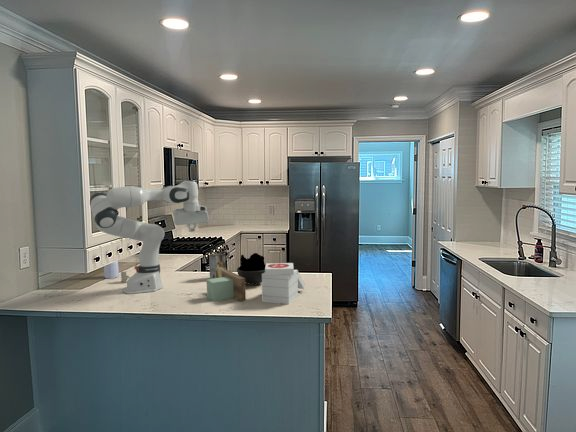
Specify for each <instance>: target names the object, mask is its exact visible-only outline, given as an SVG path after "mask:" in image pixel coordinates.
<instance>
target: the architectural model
mask: <svg viewBox="0 0 576 432" xmlns="http://www.w3.org/2000/svg"><path fill="white" fill-rule="evenodd" d="M127 274H128V273H127V271H123V270H121V271H120V278H121V282H122V283H125V284H127V281H128V279H129V278H130V277H131V276H129V275H127Z"/></svg>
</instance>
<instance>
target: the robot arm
mask: <svg viewBox="0 0 576 432" xmlns="http://www.w3.org/2000/svg"><path fill="white" fill-rule="evenodd" d="M198 198H199V187H198V183H197V182H196V181H194V180H189V179H184V180H183V181H182V182H180V183H179V184H177V185H166V186H164V187H162V188H160V189H157V188H156V189H144V188H142V187H139V186H121V187H115V188H111V189H109V190H108V191H107V192H99V191H98V192H95V193H94V194H92V195H91V197H90V199H89V206H90V211H91V214H92V217H93V218H94V223H95V224H96V228H97V230H98V231H100V232H102V233H105V234H108V235H111V236H115V237H120V238H125V239H130V240H135V241H138V242H139V241H140V242H142V246H141V250H140V251H139V253H138V255H139V257H138V258H139V261H138V262H139V265H138V266H137V265H135V266H134V267H133V268H134V269H135V271H136V272H135V273H134V274H133V275H131V276H129V277H130V278H129V279H127V283H126V286H125V287H123V288H122V292H123V293H124V294H127V295H130V294H131V295H132V294H133V295H134V294H140V293H141V294H142V293H152V292H157V291H158V290H161V289H163V287H164V286H163V283H162V279H161V265H160V247H161V243H162V241H163V240H164V237H165V230H164V228H163V227H162V226H160V225H159V224H157V223H156V224H154V223H147V222H143V221H138V220H135V219H131V218H128V217H125V216H119V213H120V212H119V209H120V208H132V207H133V208H134V207H139V206H143V205H144V203H146V202H150V201H163V202H165V203H169V204H170V203H173V204H181V203H182V206H183V207H181V208H176V209H174V210H173V216H174V217H173V224H174V225H175V226H182V225H186V226H187V228H188V231H189V233H190V232H191V233H192V232H196V227H197V226H198V225H197V224H205V223H207V224H208V223H209V221H210V218H209V212H208V211H207V210H208V208H207V206H205V205H201V204H199V199H198ZM191 225H193V227H191Z"/></svg>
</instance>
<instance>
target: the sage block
mask: <svg viewBox="0 0 576 432" xmlns="http://www.w3.org/2000/svg"><path fill="white" fill-rule="evenodd" d="M206 297H207V298H208V299H209V300H210V301H212V302H217V301H222V300H226V299H228V300H229V299H234V286H233V279H231V278H229V277H221V278H214V279H210V278H207V279H206Z"/></svg>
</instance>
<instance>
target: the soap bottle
mask: <svg viewBox="0 0 576 432" xmlns="http://www.w3.org/2000/svg"><path fill="white" fill-rule="evenodd" d="M103 272H104V273H103V274H104V275H103V277H104V278H105V279H116V278H119V276H120V271H119V261H118V260H117V261H116V262H113V263H111V264H109V265H107V266H104V265H103Z"/></svg>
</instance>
